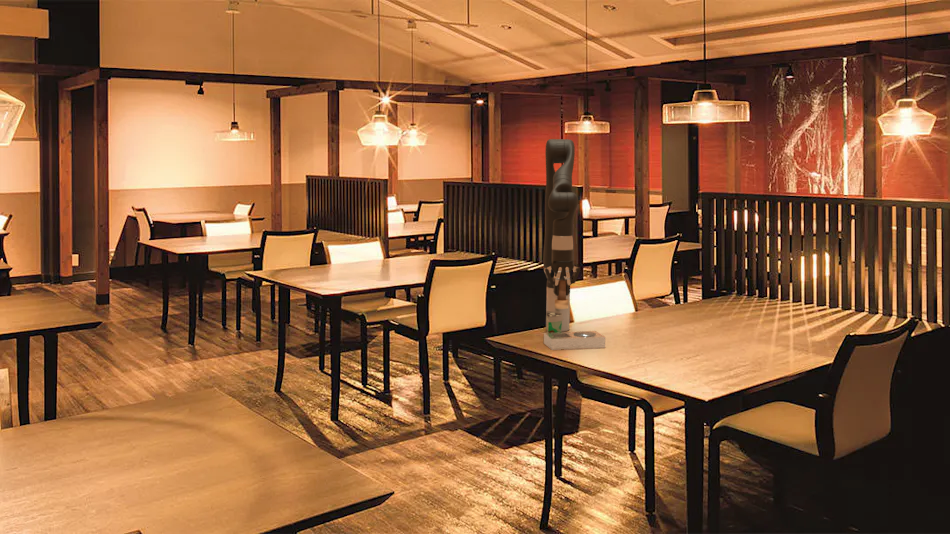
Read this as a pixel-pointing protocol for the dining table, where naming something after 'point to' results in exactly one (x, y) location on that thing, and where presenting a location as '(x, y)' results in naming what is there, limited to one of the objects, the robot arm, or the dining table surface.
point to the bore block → (574, 340)
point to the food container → (554, 321)
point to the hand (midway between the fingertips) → (561, 295)
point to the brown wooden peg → (561, 296)
